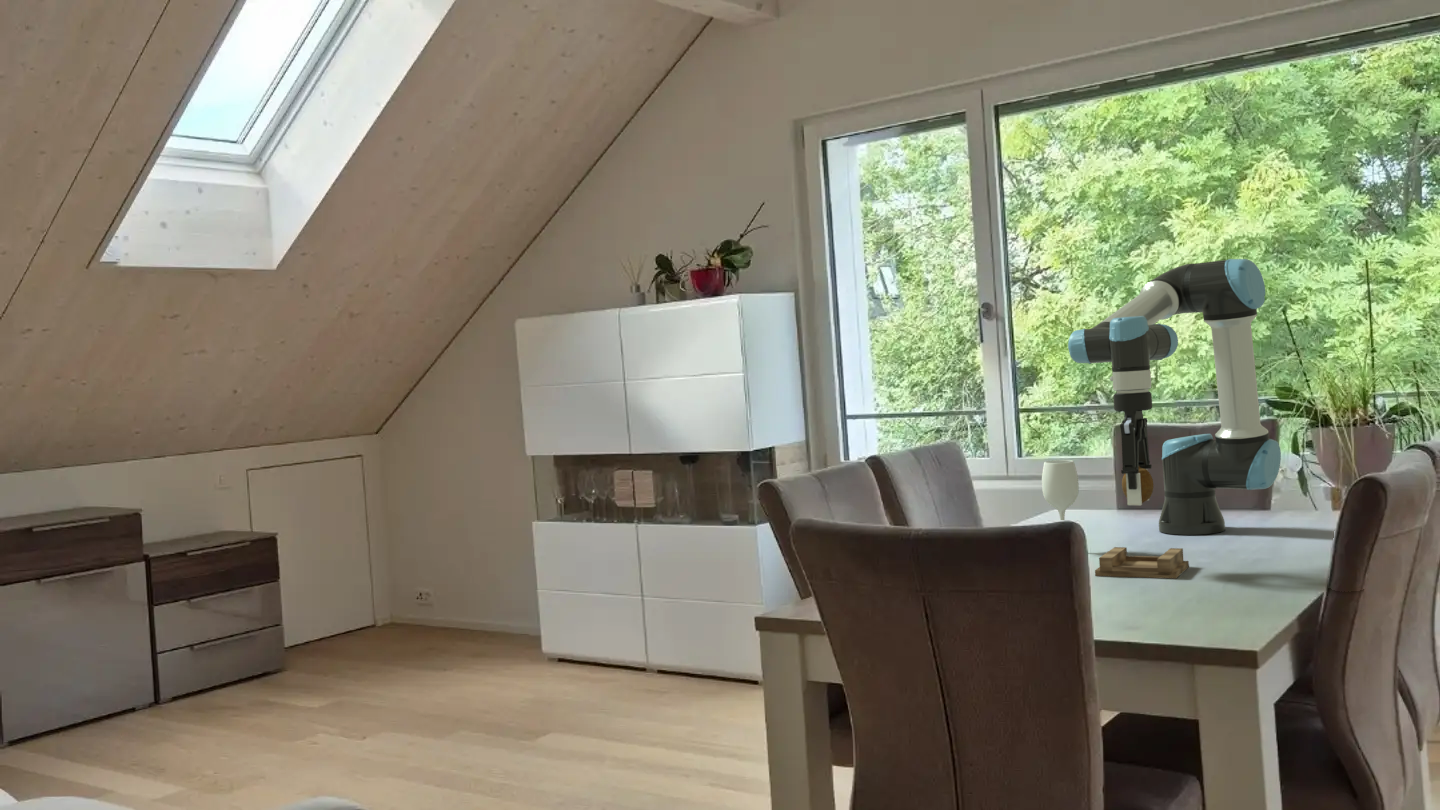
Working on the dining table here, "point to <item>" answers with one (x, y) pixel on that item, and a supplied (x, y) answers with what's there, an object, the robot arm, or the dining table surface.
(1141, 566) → the cradle
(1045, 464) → the wineglass
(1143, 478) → the fruit
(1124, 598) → the dining table surface
